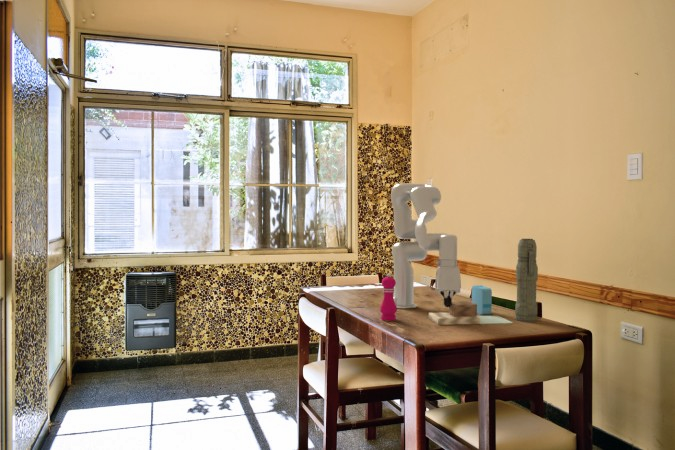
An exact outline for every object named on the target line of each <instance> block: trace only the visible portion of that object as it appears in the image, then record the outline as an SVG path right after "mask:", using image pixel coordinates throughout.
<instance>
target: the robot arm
mask: <svg viewBox="0 0 675 450" xmlns="http://www.w3.org/2000/svg"><path fill="white" fill-rule="evenodd" d="M441 200H442V194H441V191H440V189H439V188H438V187H436V186H433V185H429V184H426V183H413V182H412V183H411V182H410V183H405V182H402V183H397V184H395V185H394V186H392V189H391V193H390V201H391V204H392V209H393V226H394V228H393V229H394V235H395V237H396V238H397V239H399V240H400V239H402V240H410V239H411V240H413V241H399V242H396V243H394V244H393V245H392V248H391V254H392V260H393V278H394V279H395V281H396V285H395V286H394V292H393V298H394V301H395V304H396V307H397V309H414V308H417V306H418V305H417V304H416V303H415V302H414V283H415V282H414V277H415V276H414V275H415V273H414V268H413V265H411V263H410V262H419V261H420V262H421V261H424V260H425V259H426V258H427V256H428V252H432V251H433V252H436V251H437V252H438V260H437V261H435V265H438V266H437V268H436V271H435V272H436V274H435V282H434V283H435V284H434V287H435V289H434V291H435V293H436V294H439V295H441V296H442V298H443V306H444V307H445V308H449V307H451V305H452V302H453V301H452V300H453V299H452V298H453V297H454V296H455V295H457V294H459V293H461V289H462V281H461V280H462V279H461V271H460V267H459V266H458V237H457V235H456V234H448V233H444V232H441V233H437V232H436V233H435V232H434V233H428V232H427V225H426V224H428V223H429V222H431V221H432V220H434V219H435V218H436V216H437V209H436V208H435V206H436V205H439V204H440V202H441ZM407 202H411V203H412V205H413V207H414V210H415V212H416V215H417V218H418V219H413V217H412V209H411V207H410V205H409V204H408V203H407Z"/></svg>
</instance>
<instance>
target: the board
mask: <svg viewBox="0 0 675 450" xmlns="http://www.w3.org/2000/svg"><path fill="white" fill-rule="evenodd" d="M477 316H478V315H477ZM477 316H466V317H453V316H452V315H450V314H449V312H447V311H446V312H445V311H444V312H428V319H429V320H430V321H432V322H433V323H435V324H436V325H438V326H440V325H442V326H443V325H446V326H447V325H481V324H480V318H479V317H477Z"/></svg>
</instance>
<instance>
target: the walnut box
mask: <svg viewBox="0 0 675 450" xmlns="http://www.w3.org/2000/svg"><path fill="white" fill-rule="evenodd" d="M448 308H449V314H450V315H452V316H453V317H466V316H478V313H477V304H475V303H473V302H472V301H460V302H459V301H456V302H455V301H454V302H453V301H452V305H451V307H448Z"/></svg>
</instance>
